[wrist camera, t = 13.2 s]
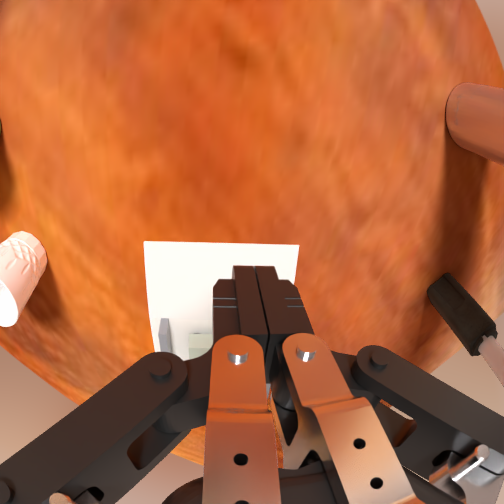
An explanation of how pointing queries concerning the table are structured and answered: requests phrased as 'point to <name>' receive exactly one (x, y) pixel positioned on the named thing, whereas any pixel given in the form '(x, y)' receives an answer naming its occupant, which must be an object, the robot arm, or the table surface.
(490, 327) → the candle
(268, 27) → the table surface
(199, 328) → the loading dock
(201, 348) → the grey rectangular block
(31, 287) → the white cup
